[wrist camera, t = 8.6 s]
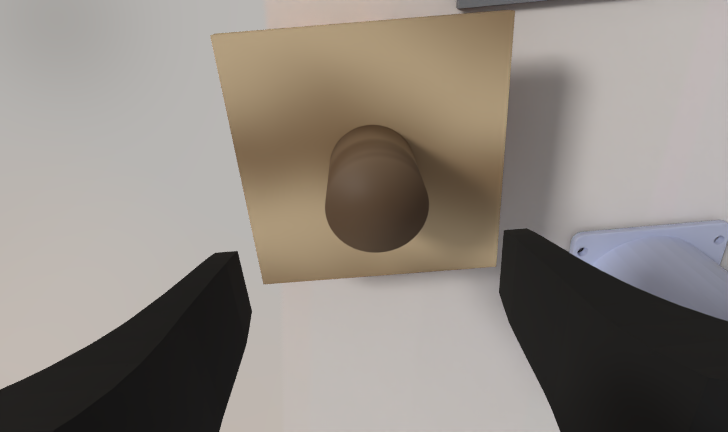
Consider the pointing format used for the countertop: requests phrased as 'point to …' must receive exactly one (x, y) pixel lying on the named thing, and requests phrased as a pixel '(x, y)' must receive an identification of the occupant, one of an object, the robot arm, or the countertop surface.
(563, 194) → the countertop surface
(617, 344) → the robot arm
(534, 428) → the countertop surface
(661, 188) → the countertop surface
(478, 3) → the mat
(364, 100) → the lid
